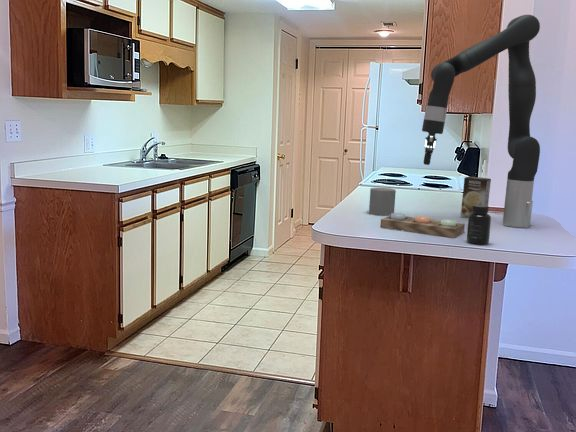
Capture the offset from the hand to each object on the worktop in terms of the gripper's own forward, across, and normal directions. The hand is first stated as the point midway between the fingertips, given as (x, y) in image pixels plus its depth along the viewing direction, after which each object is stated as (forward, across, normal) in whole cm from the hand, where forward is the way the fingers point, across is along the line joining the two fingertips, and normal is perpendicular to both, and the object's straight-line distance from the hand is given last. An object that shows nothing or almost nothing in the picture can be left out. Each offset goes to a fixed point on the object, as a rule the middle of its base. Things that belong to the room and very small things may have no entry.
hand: (426, 164), depth 212 cm
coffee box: (+20, +20, -22) cm, 35 cm away
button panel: (+22, -15, -2) cm, 27 cm away
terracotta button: (+21, -15, -2) cm, 25 cm away
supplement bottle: (+21, -29, -20) cm, 41 cm away
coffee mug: (+23, +15, +14) cm, 31 cm away
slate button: (+21, -12, +6) cm, 25 cm away
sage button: (+20, -18, -11) cm, 29 cm away
